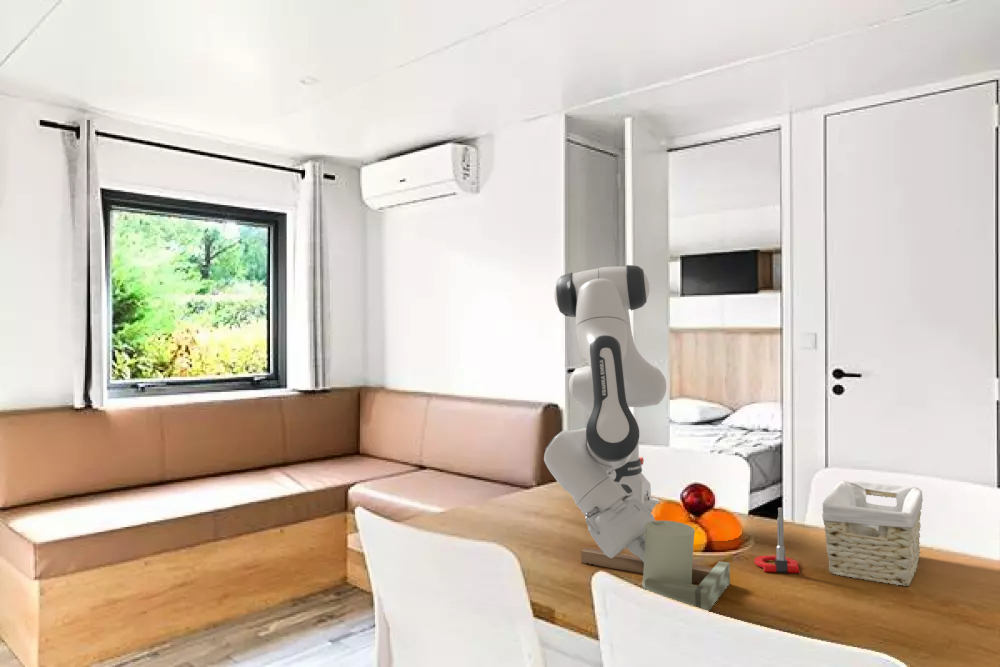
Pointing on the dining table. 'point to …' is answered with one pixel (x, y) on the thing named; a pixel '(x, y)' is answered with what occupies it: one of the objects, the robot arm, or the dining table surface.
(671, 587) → the rail stop
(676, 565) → the can
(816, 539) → the dining table surface
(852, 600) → the dining table surface
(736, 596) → the dining table surface
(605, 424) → the robot arm
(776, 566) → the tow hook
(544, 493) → the dining table surface
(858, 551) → the storage basket
